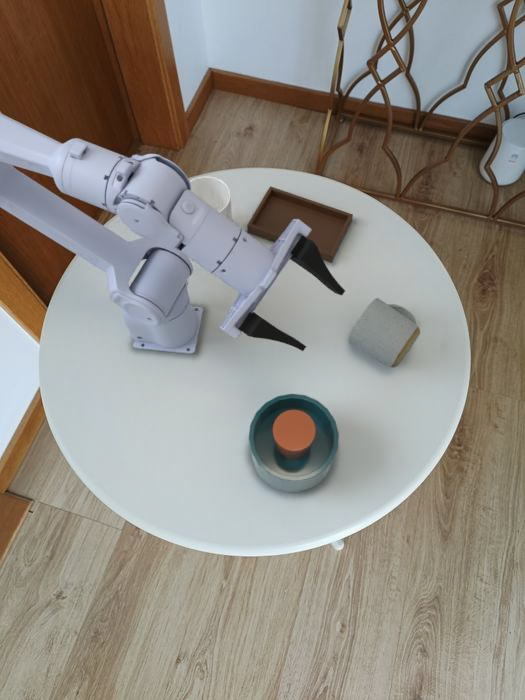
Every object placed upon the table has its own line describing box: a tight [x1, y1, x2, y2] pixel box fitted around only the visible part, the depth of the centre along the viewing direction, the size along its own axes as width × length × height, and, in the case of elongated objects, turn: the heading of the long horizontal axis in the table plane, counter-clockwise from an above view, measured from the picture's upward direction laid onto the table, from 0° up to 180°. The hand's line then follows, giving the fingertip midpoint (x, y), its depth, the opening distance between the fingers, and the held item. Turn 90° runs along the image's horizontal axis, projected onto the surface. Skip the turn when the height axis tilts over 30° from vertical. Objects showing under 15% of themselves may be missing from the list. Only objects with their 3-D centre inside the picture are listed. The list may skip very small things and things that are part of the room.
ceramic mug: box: [347, 297, 421, 368], centre depth 78 cm, size 11×8×8 cm
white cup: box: [189, 175, 233, 222], centre depth 85 cm, size 8×8×10 cm
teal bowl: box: [248, 393, 340, 493], centre depth 70 cm, size 11×11×8 cm
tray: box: [246, 185, 354, 264], centre depth 89 cm, size 15×9×2 cm, turn 65°
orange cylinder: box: [273, 410, 316, 460], centre depth 67 cm, size 5×5×6 cm
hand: (321, 319), depth 61 cm, fingers open, 7 cm apart
